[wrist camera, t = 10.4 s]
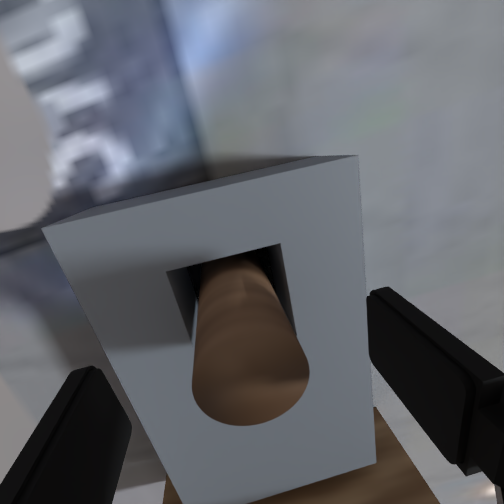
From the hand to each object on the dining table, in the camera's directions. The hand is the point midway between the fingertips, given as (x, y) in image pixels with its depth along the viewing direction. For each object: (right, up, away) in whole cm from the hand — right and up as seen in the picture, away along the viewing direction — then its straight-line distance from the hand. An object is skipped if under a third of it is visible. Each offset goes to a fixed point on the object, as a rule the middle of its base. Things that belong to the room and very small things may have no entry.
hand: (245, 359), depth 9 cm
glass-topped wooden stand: (+1, -9, +14) cm, 17 cm away
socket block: (0, -2, +11) cm, 11 cm away
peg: (-1, +3, +9) cm, 9 cm away
